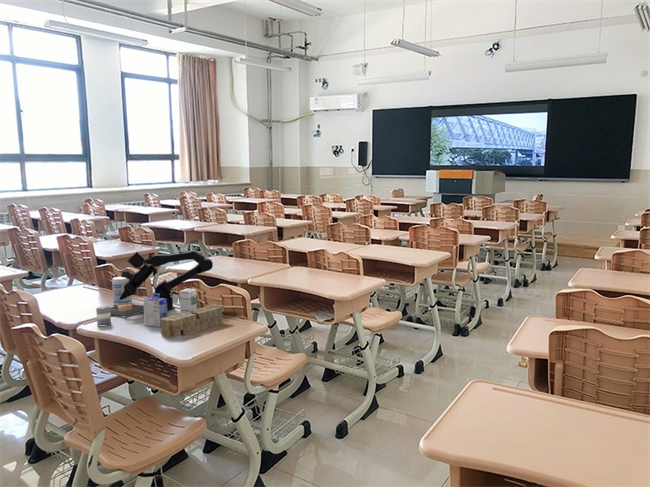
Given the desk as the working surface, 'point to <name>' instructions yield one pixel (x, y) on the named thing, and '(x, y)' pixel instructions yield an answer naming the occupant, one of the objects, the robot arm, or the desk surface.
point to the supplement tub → (120, 291)
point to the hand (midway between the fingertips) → (121, 297)
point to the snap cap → (125, 307)
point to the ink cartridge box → (154, 310)
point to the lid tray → (135, 309)
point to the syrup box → (188, 300)
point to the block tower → (191, 321)
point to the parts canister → (103, 315)
